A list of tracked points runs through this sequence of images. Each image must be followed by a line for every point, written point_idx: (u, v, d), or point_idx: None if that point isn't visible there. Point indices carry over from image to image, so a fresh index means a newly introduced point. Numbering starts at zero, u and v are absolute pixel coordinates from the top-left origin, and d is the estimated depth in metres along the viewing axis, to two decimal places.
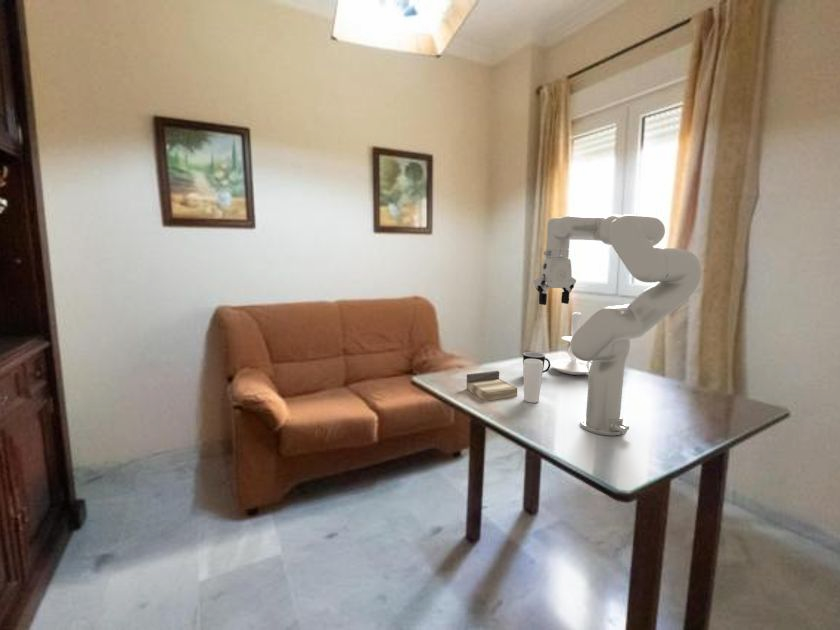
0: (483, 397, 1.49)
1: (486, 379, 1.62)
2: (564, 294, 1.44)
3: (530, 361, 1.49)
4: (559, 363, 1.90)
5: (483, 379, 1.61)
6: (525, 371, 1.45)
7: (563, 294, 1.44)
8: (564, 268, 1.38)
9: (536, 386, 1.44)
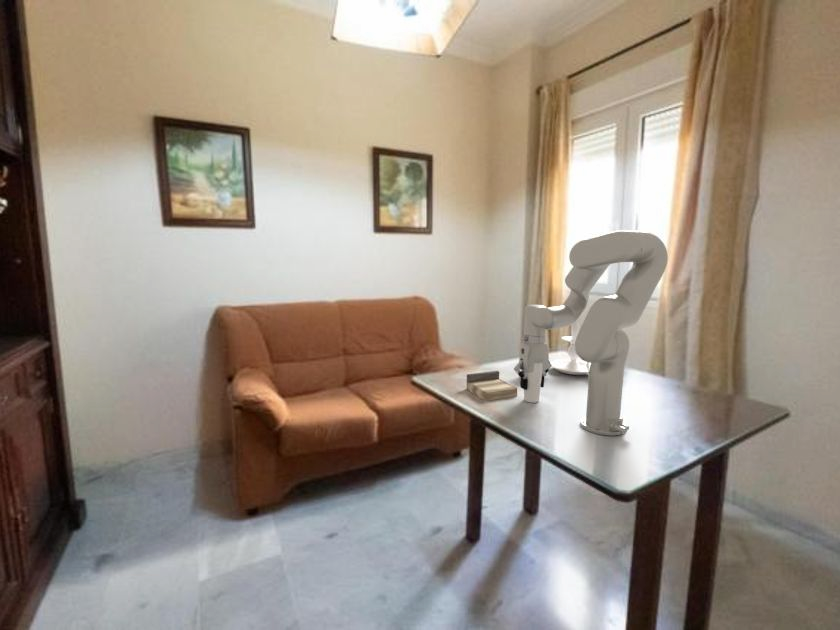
0: (483, 397, 1.49)
1: (486, 379, 1.62)
2: None
3: None
4: (559, 363, 1.90)
5: (483, 379, 1.61)
6: None
7: None
8: (541, 353, 1.43)
9: (536, 386, 1.44)
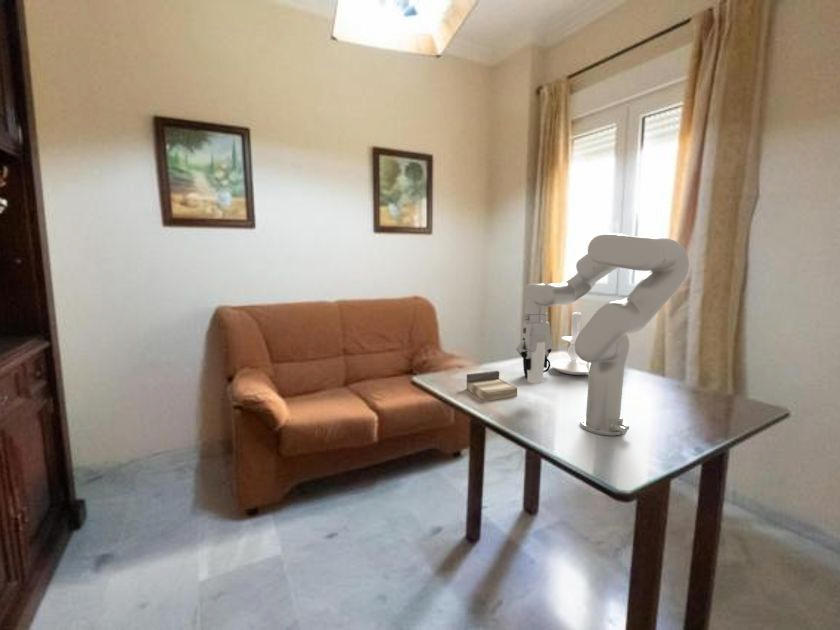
0: (483, 397, 1.49)
1: (486, 379, 1.62)
2: None
3: None
4: (559, 363, 1.90)
5: (483, 379, 1.61)
6: None
7: None
8: (543, 332, 1.42)
9: (539, 366, 1.42)
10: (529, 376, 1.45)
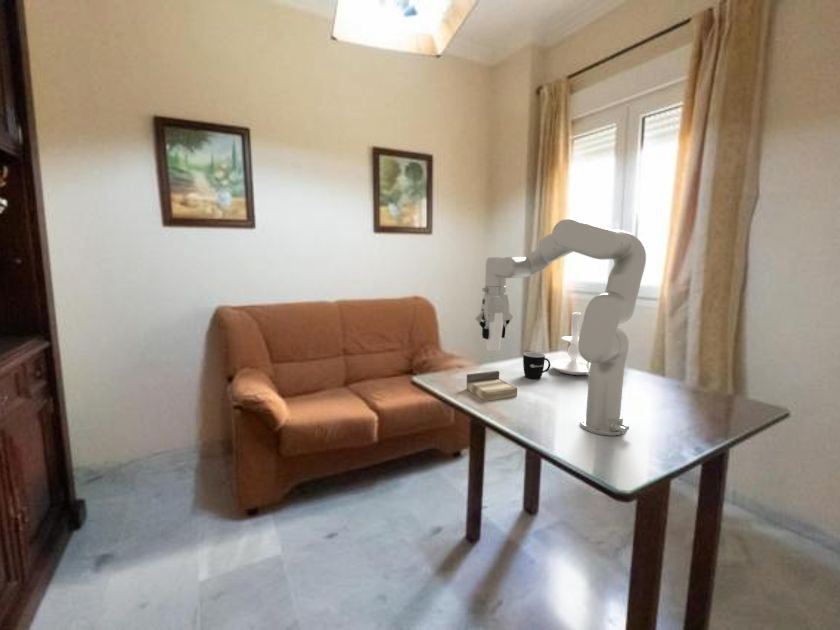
0: (483, 397, 1.49)
1: (486, 379, 1.62)
2: None
3: None
4: (559, 363, 1.90)
5: (483, 379, 1.61)
6: None
7: None
8: (501, 303, 1.49)
9: (497, 335, 1.50)
10: (487, 345, 1.53)
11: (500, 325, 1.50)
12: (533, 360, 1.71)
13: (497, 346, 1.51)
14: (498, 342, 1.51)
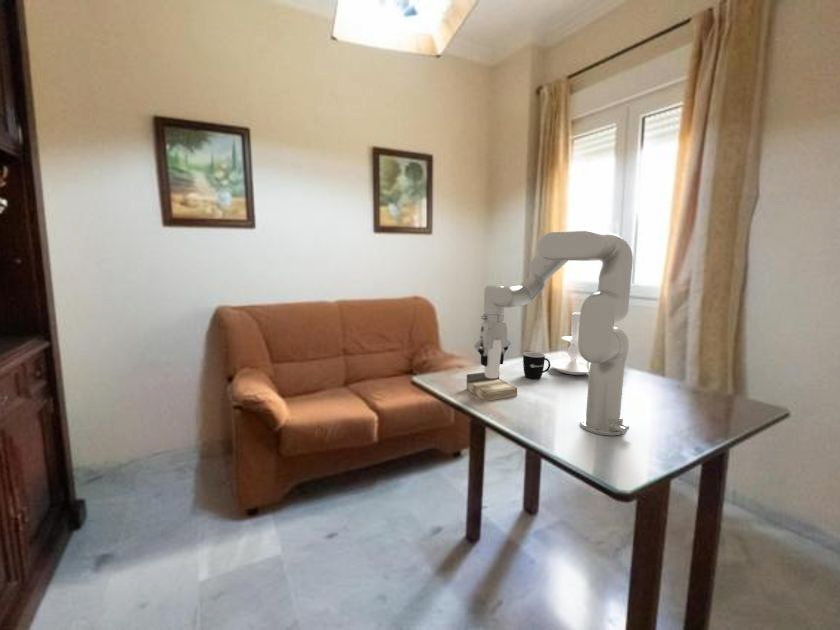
0: (483, 397, 1.49)
1: (486, 379, 1.62)
2: None
3: None
4: (559, 363, 1.90)
5: (483, 379, 1.61)
6: None
7: None
8: (500, 331, 1.51)
9: (495, 362, 1.52)
10: (486, 371, 1.54)
11: (498, 352, 1.52)
12: (533, 360, 1.71)
13: (495, 373, 1.53)
14: (496, 369, 1.53)
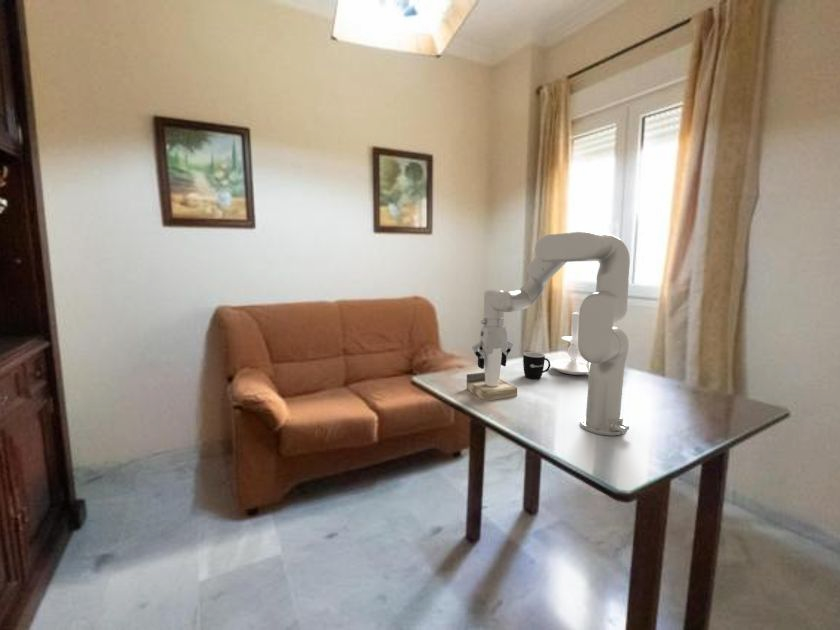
0: (483, 397, 1.49)
1: None
2: (502, 357, 1.56)
3: None
4: (559, 363, 1.90)
5: (483, 379, 1.61)
6: (485, 356, 1.53)
7: None
8: (499, 335, 1.51)
9: (495, 370, 1.52)
10: (486, 380, 1.55)
11: (498, 360, 1.52)
12: (533, 360, 1.71)
13: (496, 381, 1.53)
14: (496, 377, 1.53)
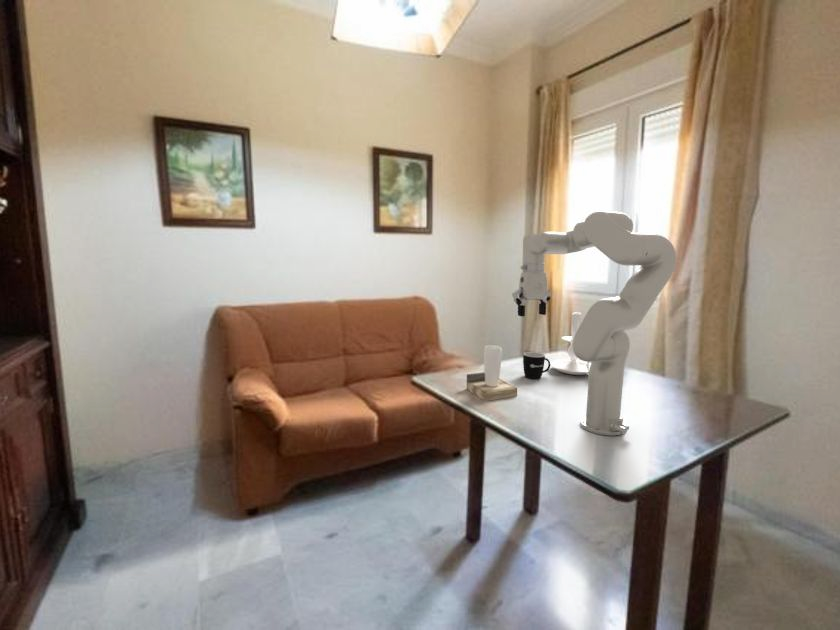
0: (483, 397, 1.49)
1: None
2: (541, 306, 1.51)
3: (491, 347, 1.57)
4: (559, 363, 1.90)
5: (483, 379, 1.61)
6: (485, 357, 1.53)
7: (540, 306, 1.52)
8: (540, 281, 1.46)
9: (495, 371, 1.52)
10: (486, 380, 1.55)
11: (498, 361, 1.52)
12: (533, 360, 1.71)
13: (495, 381, 1.53)
14: (496, 377, 1.53)
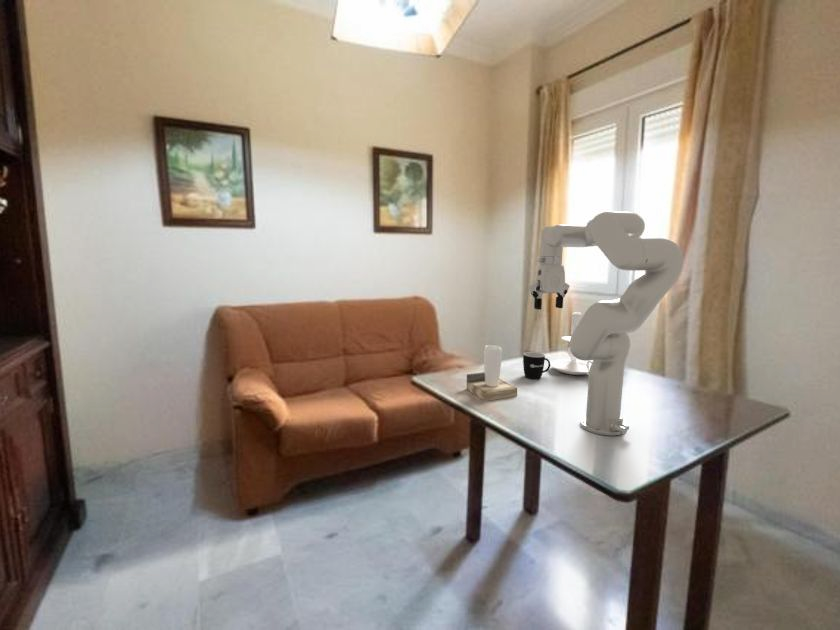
0: (483, 397, 1.49)
1: None
2: (558, 299, 1.50)
3: (491, 347, 1.57)
4: (559, 363, 1.90)
5: (483, 379, 1.61)
6: (485, 357, 1.53)
7: (557, 299, 1.51)
8: (558, 274, 1.45)
9: (495, 371, 1.52)
10: (486, 380, 1.55)
11: (498, 361, 1.52)
12: (533, 360, 1.71)
13: (496, 381, 1.53)
14: (496, 377, 1.53)
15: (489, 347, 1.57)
